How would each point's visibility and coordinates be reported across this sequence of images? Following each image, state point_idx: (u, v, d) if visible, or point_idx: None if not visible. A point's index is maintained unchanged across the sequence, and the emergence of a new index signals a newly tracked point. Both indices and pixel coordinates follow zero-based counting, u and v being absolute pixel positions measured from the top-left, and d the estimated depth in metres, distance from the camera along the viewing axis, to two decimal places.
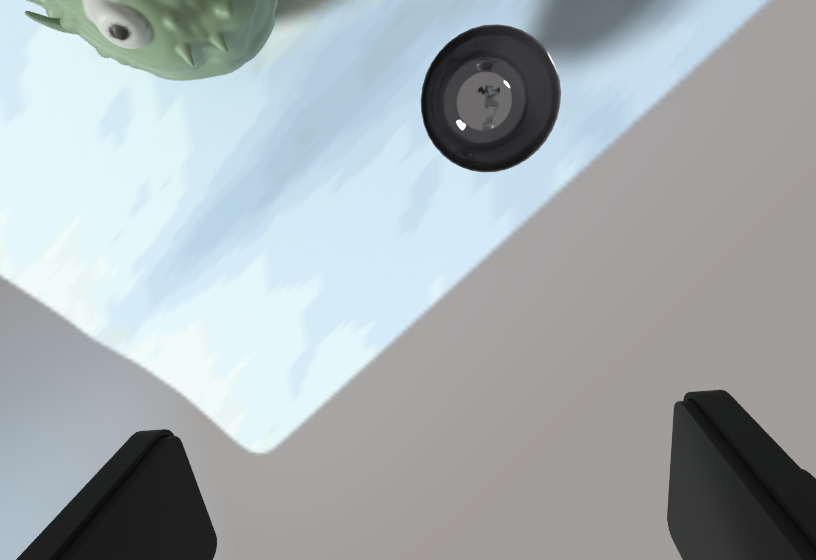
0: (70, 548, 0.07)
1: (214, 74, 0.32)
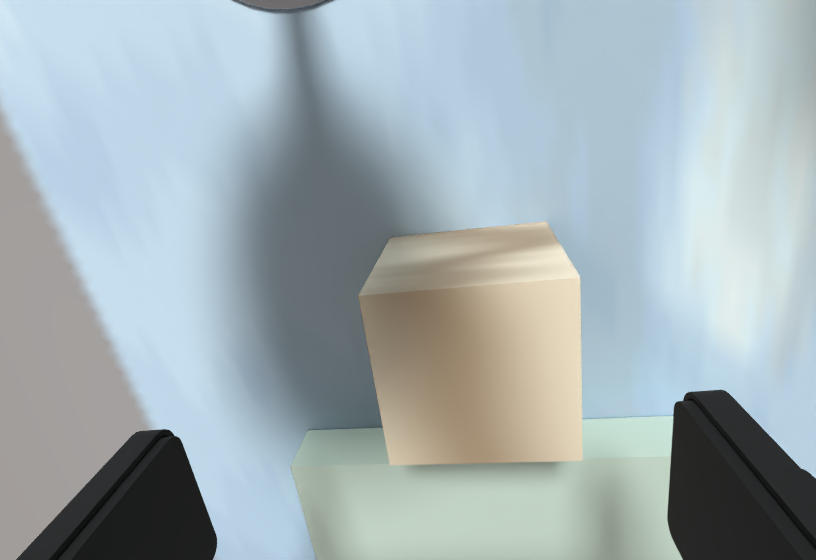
0: (70, 548, 0.07)
1: None
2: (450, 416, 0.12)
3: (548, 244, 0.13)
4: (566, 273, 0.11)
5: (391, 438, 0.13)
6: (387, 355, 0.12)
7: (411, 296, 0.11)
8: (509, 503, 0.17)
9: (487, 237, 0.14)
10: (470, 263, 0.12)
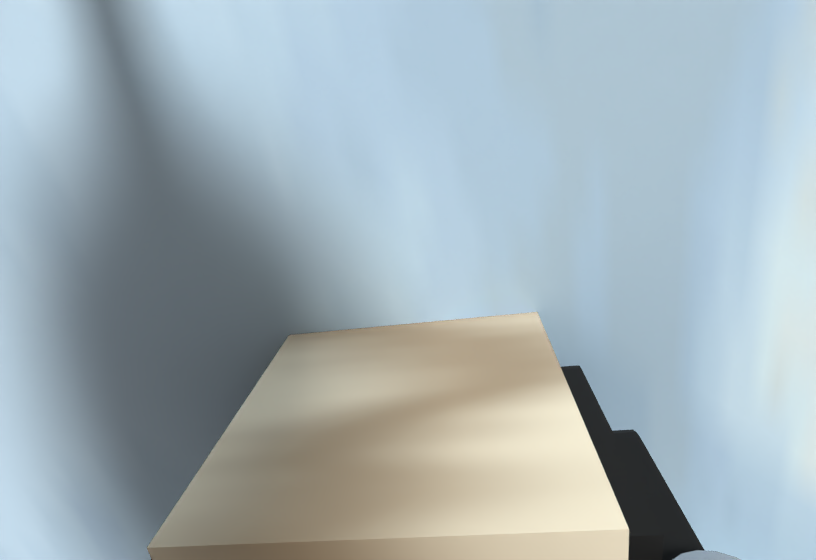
0: None
1: None
2: None
3: (546, 383, 0.07)
4: (594, 503, 0.05)
5: None
6: None
7: (258, 552, 0.05)
8: None
9: (440, 350, 0.08)
10: (399, 438, 0.06)
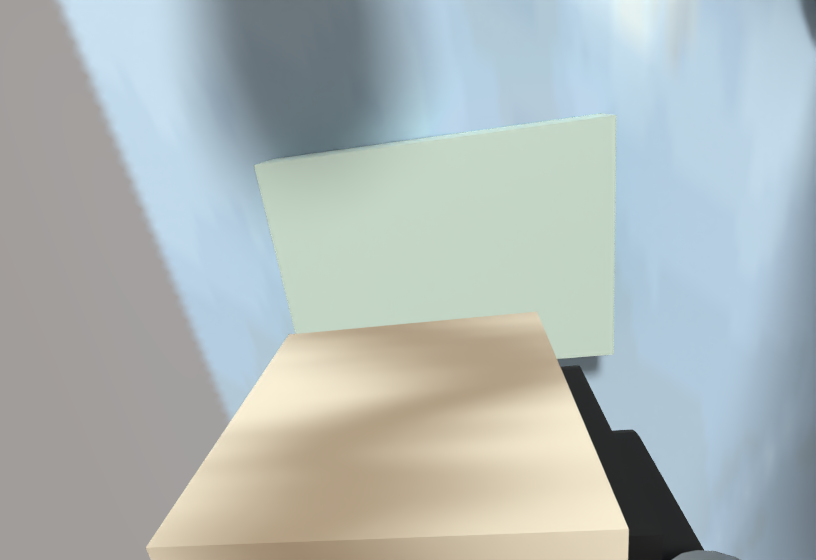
0: None
1: None
2: None
3: (546, 383, 0.07)
4: (594, 503, 0.05)
5: None
6: None
7: (258, 553, 0.05)
8: (447, 186, 0.19)
9: (439, 350, 0.08)
10: (398, 439, 0.06)
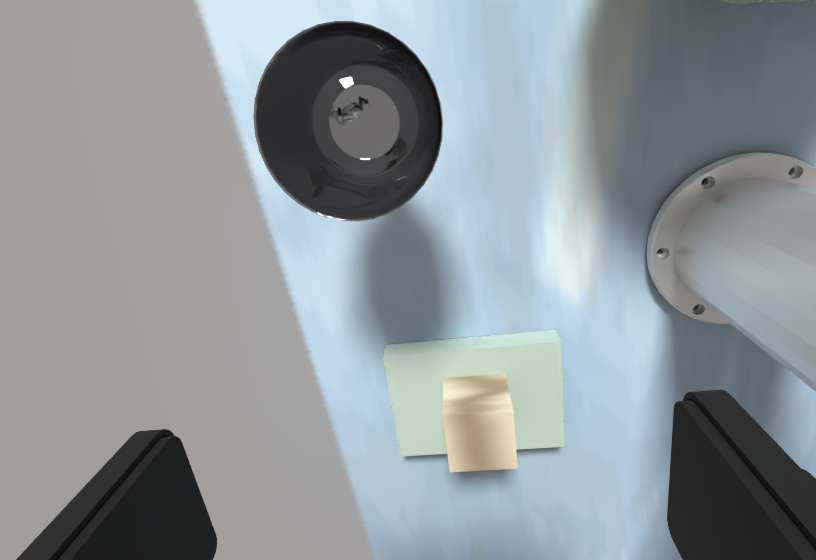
0: (70, 548, 0.07)
1: None
2: (472, 454, 0.35)
3: (505, 391, 0.36)
4: (509, 409, 0.34)
5: (451, 462, 0.35)
6: (451, 434, 0.35)
7: (460, 417, 0.34)
8: (480, 368, 0.38)
9: (483, 383, 0.37)
10: (478, 401, 0.35)
